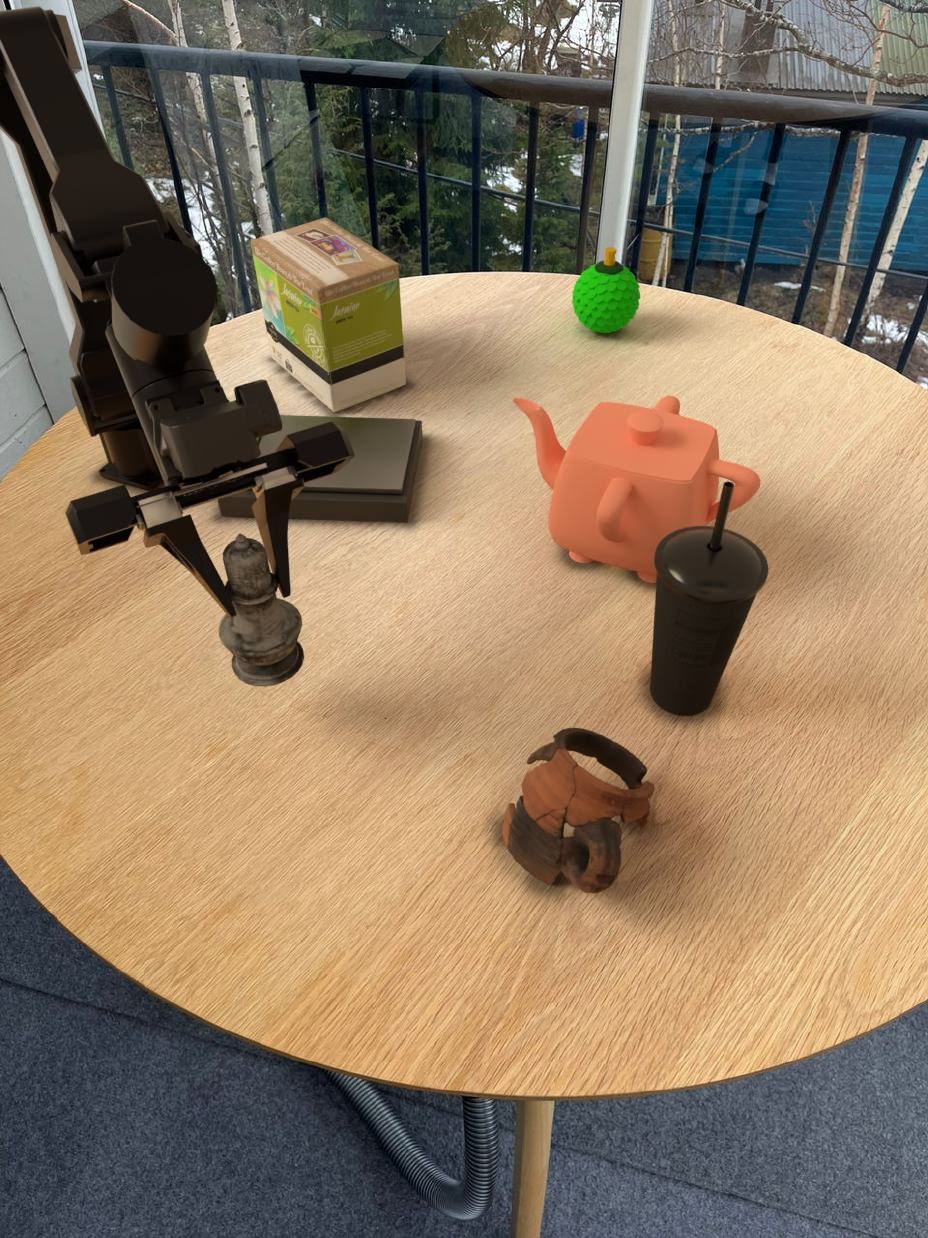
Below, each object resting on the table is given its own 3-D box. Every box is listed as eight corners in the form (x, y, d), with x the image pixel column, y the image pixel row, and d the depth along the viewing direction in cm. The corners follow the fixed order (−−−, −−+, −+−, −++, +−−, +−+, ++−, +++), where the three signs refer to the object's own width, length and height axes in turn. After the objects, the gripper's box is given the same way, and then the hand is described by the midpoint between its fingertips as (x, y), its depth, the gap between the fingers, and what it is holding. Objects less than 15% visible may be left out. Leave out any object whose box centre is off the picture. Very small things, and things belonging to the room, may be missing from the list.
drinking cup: (736, 669, 75) (796, 462, 61) (723, 741, 70) (785, 532, 56) (642, 647, 77) (678, 441, 63) (622, 716, 72) (657, 508, 58)
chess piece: (293, 695, 67) (267, 569, 58) (215, 683, 67) (178, 557, 59) (318, 636, 71) (297, 511, 62) (244, 625, 71) (214, 500, 63)
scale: (221, 516, 90) (215, 494, 88) (254, 434, 100) (250, 413, 98) (407, 523, 89) (406, 500, 87) (422, 439, 99) (421, 418, 97)
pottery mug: (478, 799, 67) (526, 706, 64) (591, 822, 70) (641, 735, 67) (521, 926, 57) (581, 823, 54) (651, 947, 60) (713, 850, 57)
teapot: (747, 571, 83) (781, 447, 74) (590, 621, 79) (605, 495, 70) (650, 471, 95) (669, 351, 85) (508, 509, 90) (511, 388, 81)
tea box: (268, 360, 111) (246, 235, 101) (340, 335, 115) (327, 213, 105) (333, 416, 102) (317, 285, 92) (409, 386, 107) (402, 258, 96)
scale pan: (244, 488, 89) (243, 483, 88) (272, 419, 97) (271, 414, 97) (402, 494, 88) (401, 489, 87) (415, 423, 96) (415, 418, 96)
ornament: (581, 309, 119) (588, 230, 112) (643, 321, 117) (654, 241, 110) (560, 338, 114) (566, 257, 107) (625, 351, 112) (635, 269, 105)
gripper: (17, 390, 52) (124, 653, 53) (328, 309, 58) (418, 545, 59) (34, 439, 62) (123, 658, 63) (296, 366, 69) (373, 566, 70)
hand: (260, 606), depth 64 cm, fingers closed on chess piece, 3 cm apart
